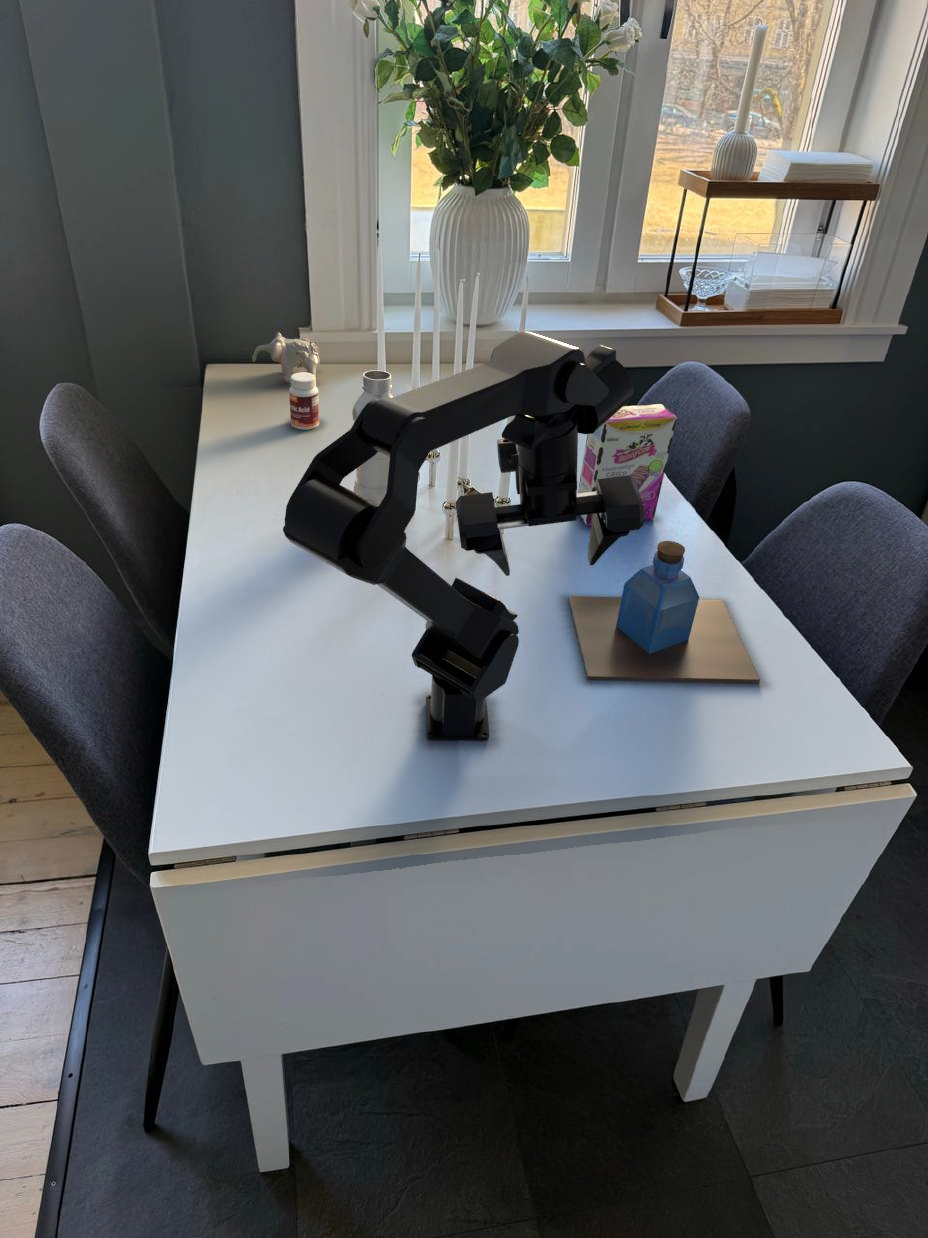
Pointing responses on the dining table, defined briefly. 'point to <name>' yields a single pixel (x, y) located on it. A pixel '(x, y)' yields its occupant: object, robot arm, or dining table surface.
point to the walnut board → (698, 659)
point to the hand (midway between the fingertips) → (549, 567)
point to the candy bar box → (630, 452)
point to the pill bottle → (304, 401)
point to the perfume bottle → (659, 601)
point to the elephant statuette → (291, 354)
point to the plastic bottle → (376, 469)
